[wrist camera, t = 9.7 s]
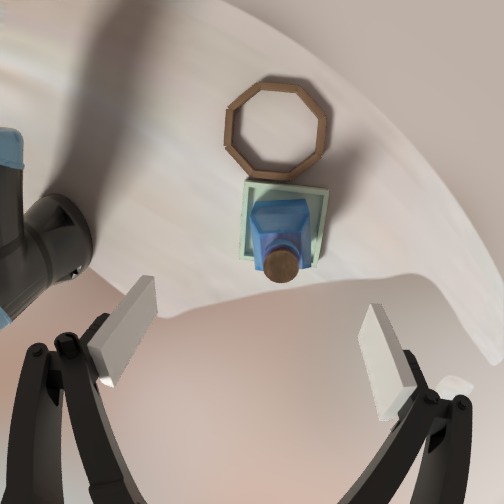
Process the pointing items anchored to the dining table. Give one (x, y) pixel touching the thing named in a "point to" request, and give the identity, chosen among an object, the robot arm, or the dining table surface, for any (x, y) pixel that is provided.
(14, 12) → the dining table surface
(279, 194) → the tray
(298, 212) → the perfume bottle
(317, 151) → the ring
